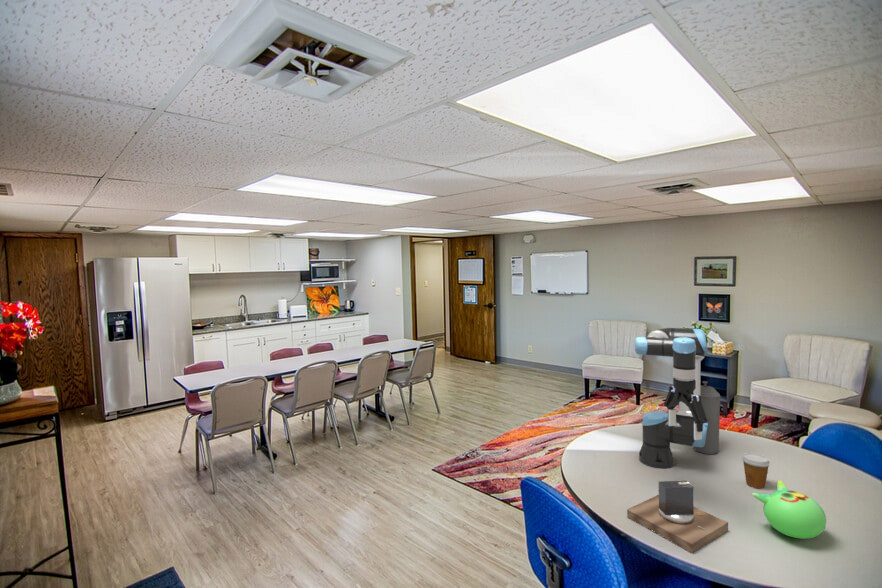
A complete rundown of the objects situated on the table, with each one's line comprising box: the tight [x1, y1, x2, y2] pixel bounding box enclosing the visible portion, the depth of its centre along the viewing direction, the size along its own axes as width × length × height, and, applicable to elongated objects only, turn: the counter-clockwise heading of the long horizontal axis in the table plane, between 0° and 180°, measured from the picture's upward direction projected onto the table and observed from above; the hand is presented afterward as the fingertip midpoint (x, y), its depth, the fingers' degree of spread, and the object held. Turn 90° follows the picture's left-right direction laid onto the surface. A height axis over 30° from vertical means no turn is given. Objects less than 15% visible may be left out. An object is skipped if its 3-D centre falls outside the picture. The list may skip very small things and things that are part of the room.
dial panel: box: [626, 494, 729, 554], centre depth 153 cm, size 24×22×3 cm
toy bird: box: [751, 479, 827, 540], centre depth 146 cm, size 18×17×15 cm
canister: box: [692, 380, 721, 455], centre depth 212 cm, size 13×13×35 cm
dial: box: [658, 480, 695, 524], centre depth 153 cm, size 11×11×12 cm
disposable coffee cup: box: [741, 452, 771, 490], centre depth 178 cm, size 10×10×12 cm
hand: (684, 432), depth 164 cm, fingers open, 13 cm apart
